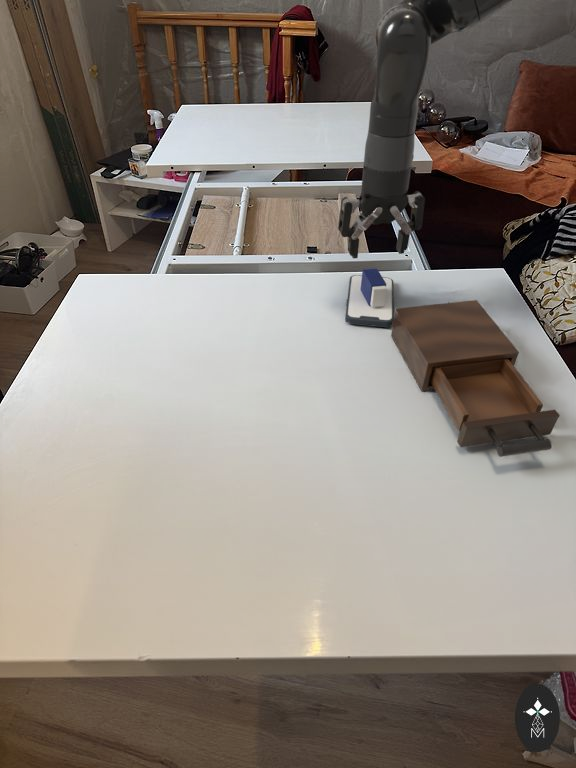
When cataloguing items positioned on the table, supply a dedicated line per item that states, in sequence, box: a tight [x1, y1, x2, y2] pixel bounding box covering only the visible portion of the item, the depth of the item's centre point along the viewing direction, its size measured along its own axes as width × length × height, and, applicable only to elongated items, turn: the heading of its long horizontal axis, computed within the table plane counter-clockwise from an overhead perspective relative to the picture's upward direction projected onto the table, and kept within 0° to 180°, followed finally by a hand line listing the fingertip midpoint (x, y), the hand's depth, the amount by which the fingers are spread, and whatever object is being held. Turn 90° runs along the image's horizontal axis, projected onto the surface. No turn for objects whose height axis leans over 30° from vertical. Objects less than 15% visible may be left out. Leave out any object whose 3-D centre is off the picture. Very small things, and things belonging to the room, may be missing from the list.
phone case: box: [344, 274, 395, 328], centre depth 101 cm, size 9×2×16 cm
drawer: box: [430, 358, 560, 458], centre depth 77 cm, size 18×14×4 cm
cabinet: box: [390, 299, 520, 392], centre depth 88 cm, size 15×15×6 cm
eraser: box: [360, 267, 387, 307], centre depth 98 cm, size 3×7×4 cm, turn 11°
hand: (376, 254), depth 95 cm, fingers open, 8 cm apart
